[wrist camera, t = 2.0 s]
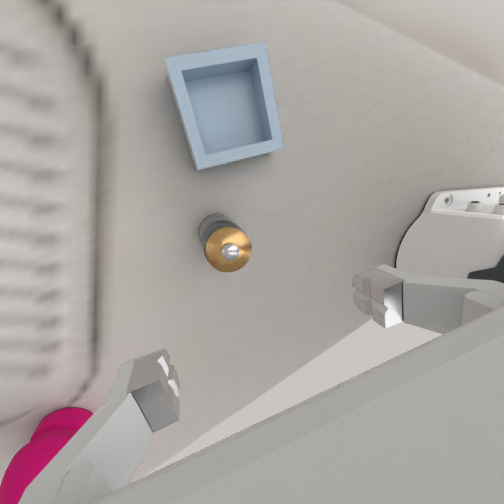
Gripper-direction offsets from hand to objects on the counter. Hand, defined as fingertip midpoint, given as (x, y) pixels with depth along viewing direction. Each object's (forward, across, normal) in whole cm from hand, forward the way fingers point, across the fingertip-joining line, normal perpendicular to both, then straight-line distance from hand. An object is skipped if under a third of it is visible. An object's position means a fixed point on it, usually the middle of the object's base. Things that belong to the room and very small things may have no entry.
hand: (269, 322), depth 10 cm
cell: (+19, 0, 0) cm, 19 cm away
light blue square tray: (+18, -4, -11) cm, 22 cm away
